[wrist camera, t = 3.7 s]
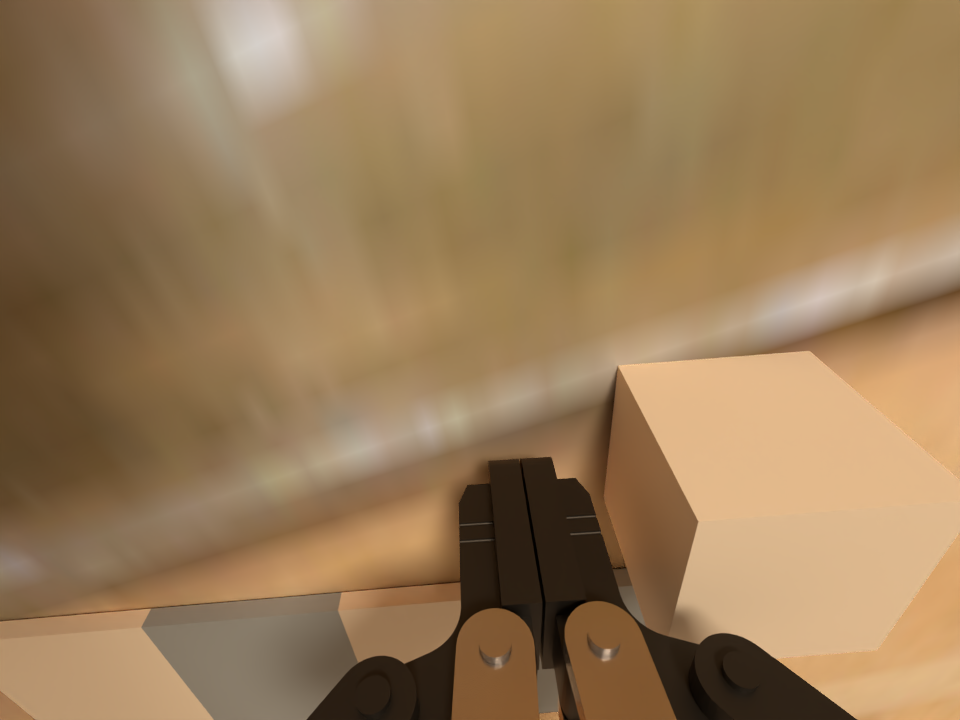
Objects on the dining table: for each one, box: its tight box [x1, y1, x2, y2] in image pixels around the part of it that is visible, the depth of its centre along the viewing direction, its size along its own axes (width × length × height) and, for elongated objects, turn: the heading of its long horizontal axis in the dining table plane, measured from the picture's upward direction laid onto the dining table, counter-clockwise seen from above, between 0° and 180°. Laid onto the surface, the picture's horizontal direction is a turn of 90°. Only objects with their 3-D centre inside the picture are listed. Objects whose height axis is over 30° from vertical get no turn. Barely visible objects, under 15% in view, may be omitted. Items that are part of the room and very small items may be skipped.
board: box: [0, 568, 646, 720], centre depth 18 cm, size 8×24×1 cm, turn 94°
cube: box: [604, 351, 960, 659], centre depth 11 cm, size 4×4×4 cm
